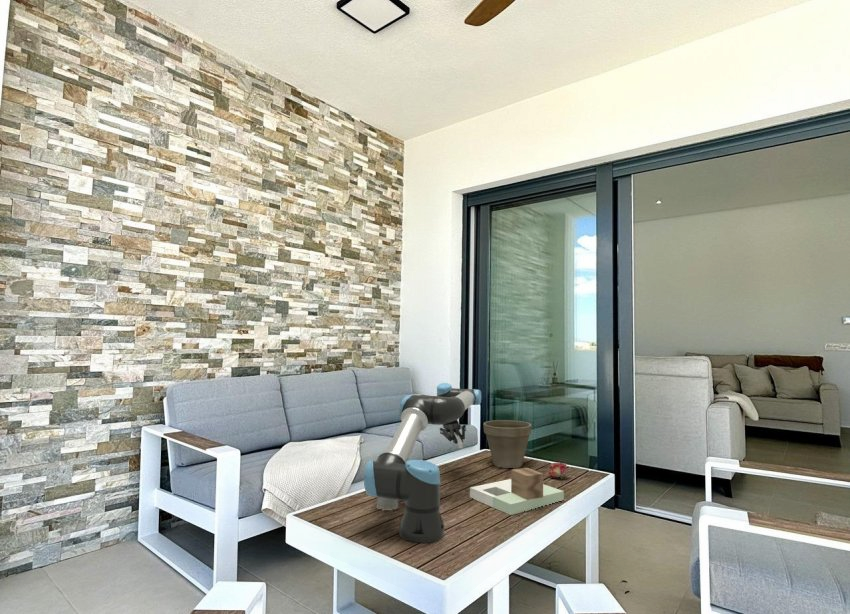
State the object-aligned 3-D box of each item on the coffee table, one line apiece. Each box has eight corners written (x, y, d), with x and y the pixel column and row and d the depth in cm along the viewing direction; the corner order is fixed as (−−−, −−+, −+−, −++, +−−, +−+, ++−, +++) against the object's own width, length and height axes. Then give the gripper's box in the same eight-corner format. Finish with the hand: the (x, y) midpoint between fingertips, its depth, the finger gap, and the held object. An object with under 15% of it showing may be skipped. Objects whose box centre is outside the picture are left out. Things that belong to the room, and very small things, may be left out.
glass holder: (374, 503, 192) (375, 465, 193) (409, 501, 195) (410, 463, 196) (378, 511, 183) (379, 471, 184) (414, 508, 187) (415, 469, 188)
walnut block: (526, 499, 187) (526, 476, 188) (511, 492, 196) (511, 469, 197) (543, 497, 191) (543, 473, 191) (527, 489, 199) (527, 467, 200)
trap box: (510, 515, 181) (510, 504, 182) (469, 497, 201) (469, 487, 201) (563, 501, 198) (563, 491, 199) (521, 485, 218) (521, 476, 218)
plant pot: (473, 464, 255) (473, 422, 256) (502, 457, 271) (502, 417, 273) (512, 474, 236) (512, 429, 238) (540, 466, 253) (540, 424, 254)
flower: (574, 476, 228) (568, 460, 233) (562, 475, 223) (556, 458, 228) (559, 484, 234) (554, 468, 239) (547, 483, 229) (541, 467, 234)
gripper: (463, 427, 237) (475, 451, 214) (437, 431, 235) (446, 455, 213) (462, 413, 236) (474, 435, 213) (436, 416, 234) (445, 439, 211)
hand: (460, 445), depth 213 cm, fingers closed
